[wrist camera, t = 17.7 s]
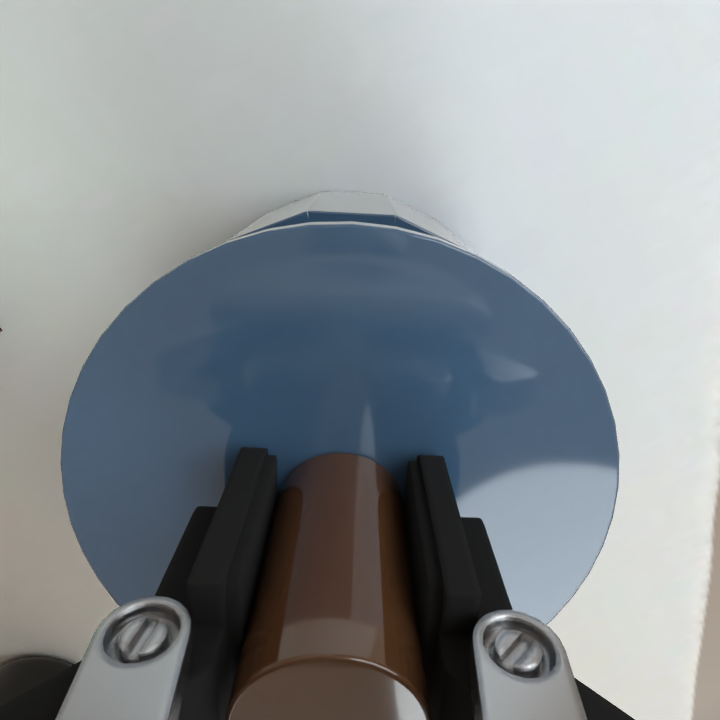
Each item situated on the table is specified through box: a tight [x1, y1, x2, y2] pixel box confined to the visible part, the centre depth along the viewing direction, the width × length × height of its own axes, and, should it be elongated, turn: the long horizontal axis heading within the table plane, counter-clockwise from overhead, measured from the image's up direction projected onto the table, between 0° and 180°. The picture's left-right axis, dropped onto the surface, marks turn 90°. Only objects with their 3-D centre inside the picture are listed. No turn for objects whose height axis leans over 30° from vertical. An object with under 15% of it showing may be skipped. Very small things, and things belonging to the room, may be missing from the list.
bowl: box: [226, 191, 471, 251], centre depth 19 cm, size 11×11×8 cm
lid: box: [61, 221, 619, 720], centre depth 10 cm, size 12×12×6 cm
